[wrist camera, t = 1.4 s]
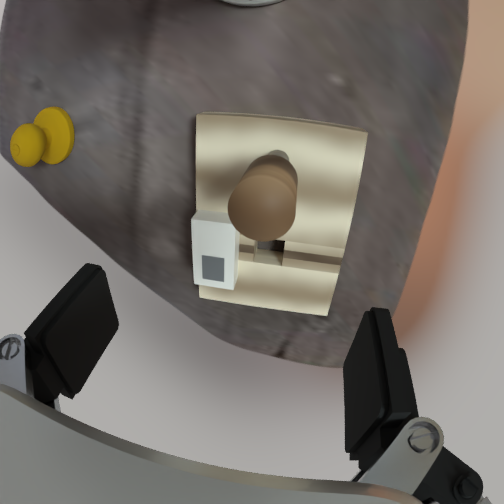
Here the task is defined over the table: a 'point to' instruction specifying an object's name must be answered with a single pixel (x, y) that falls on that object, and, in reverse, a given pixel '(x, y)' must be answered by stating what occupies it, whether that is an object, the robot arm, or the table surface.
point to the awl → (265, 198)
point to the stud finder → (214, 249)
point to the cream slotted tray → (307, 206)
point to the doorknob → (43, 138)
